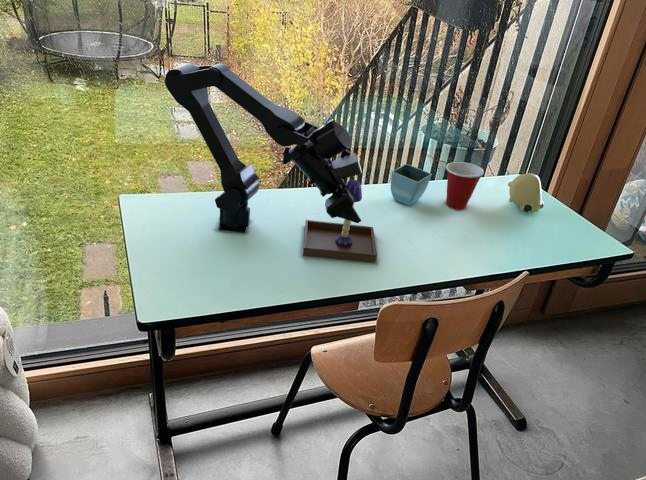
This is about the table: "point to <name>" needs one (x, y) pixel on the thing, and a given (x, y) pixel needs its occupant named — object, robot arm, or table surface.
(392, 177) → the flower pot
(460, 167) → the plastic cup
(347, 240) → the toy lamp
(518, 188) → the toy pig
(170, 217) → the table surface
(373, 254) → the tray
